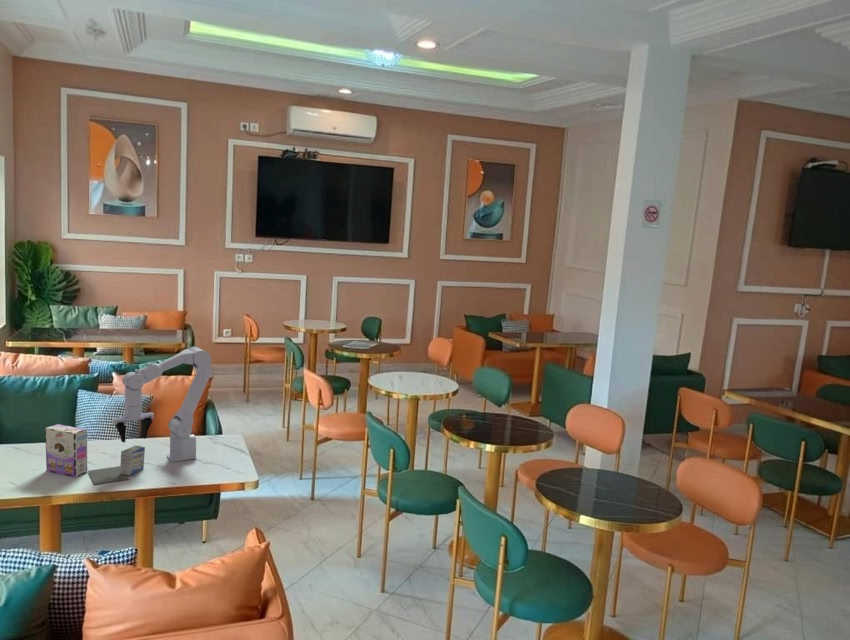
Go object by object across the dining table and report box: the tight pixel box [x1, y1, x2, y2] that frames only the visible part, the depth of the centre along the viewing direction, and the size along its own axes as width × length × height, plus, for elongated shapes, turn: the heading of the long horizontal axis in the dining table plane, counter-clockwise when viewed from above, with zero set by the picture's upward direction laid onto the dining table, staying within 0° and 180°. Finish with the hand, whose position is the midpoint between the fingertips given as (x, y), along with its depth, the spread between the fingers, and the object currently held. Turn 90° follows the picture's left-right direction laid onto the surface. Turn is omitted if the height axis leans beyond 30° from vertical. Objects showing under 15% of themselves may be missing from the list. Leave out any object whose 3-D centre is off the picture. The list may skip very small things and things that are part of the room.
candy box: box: [44, 423, 88, 478], centre depth 236 cm, size 14×6×16 cm, turn 71°
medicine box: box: [119, 445, 146, 476], centre depth 240 cm, size 8×4×9 cm, turn 168°
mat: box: [87, 465, 129, 486], centre depth 236 cm, size 11×14×1 cm
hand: (133, 439), depth 246 cm, fingers open, 7 cm apart
